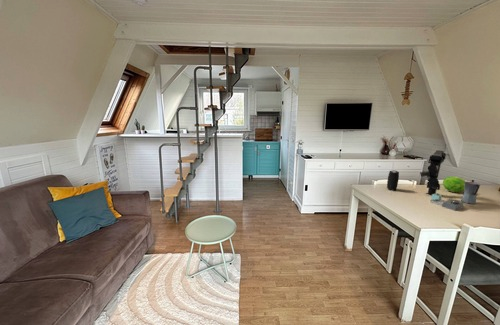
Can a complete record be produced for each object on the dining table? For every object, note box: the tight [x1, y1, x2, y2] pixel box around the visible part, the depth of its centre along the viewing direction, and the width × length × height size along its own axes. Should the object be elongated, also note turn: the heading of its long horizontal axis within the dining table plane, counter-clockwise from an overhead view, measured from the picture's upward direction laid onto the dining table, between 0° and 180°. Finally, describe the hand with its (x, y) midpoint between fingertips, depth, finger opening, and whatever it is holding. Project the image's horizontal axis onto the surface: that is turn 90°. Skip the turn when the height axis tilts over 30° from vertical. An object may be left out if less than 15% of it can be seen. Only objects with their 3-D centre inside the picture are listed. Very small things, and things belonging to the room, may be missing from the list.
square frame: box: [429, 198, 464, 211], centre depth 168 cm, size 12×17×6 cm
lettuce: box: [442, 176, 466, 193], centre depth 201 cm, size 17×20×15 cm
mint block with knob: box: [430, 192, 443, 200], centre depth 179 cm, size 5×5×6 cm
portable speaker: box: [386, 170, 400, 191], centre depth 205 cm, size 9×9×20 cm
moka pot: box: [460, 179, 481, 205], centre depth 172 cm, size 10×15×20 cm, turn 161°
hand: (430, 186), depth 178 cm, fingers open, 9 cm apart
